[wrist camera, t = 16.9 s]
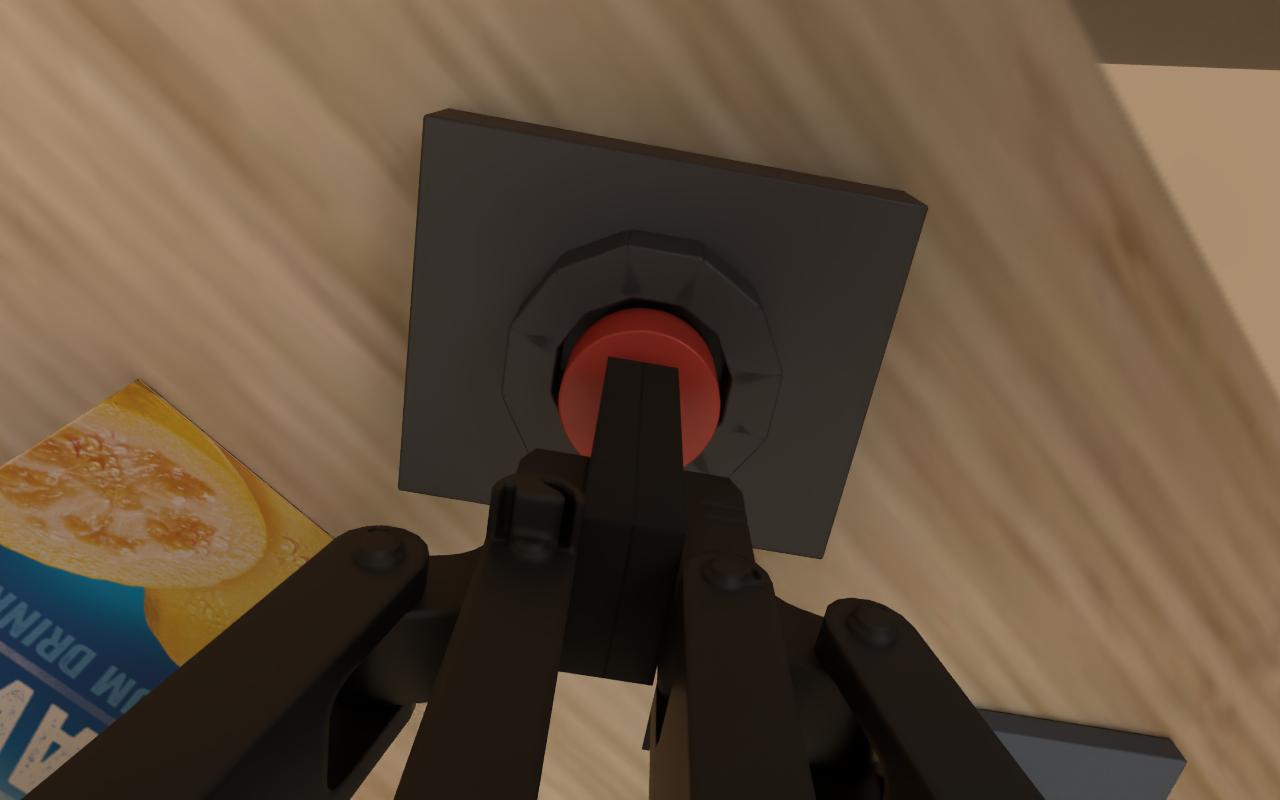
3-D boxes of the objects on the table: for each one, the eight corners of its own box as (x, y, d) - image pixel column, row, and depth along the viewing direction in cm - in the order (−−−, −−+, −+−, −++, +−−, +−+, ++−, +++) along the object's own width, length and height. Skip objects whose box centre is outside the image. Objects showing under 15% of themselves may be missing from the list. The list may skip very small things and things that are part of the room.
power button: (730, 321, 20) (736, 345, 18) (700, 457, 21) (702, 491, 20) (577, 294, 20) (569, 317, 18) (557, 433, 21) (548, 465, 19)
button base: (905, 191, 22) (953, 220, 18) (810, 520, 26) (835, 599, 22) (445, 107, 22) (400, 120, 18) (418, 455, 25) (376, 525, 22)
